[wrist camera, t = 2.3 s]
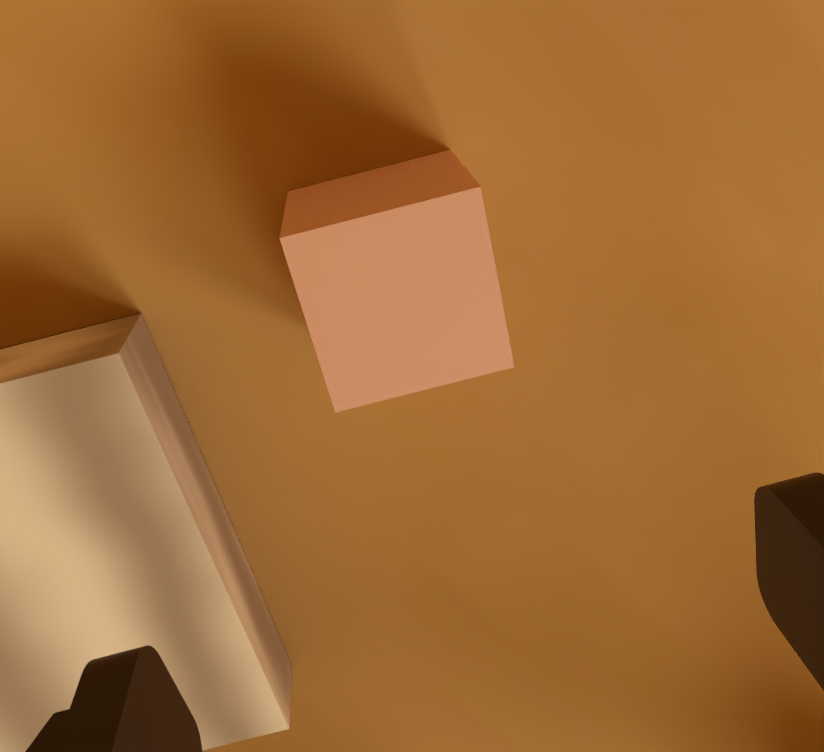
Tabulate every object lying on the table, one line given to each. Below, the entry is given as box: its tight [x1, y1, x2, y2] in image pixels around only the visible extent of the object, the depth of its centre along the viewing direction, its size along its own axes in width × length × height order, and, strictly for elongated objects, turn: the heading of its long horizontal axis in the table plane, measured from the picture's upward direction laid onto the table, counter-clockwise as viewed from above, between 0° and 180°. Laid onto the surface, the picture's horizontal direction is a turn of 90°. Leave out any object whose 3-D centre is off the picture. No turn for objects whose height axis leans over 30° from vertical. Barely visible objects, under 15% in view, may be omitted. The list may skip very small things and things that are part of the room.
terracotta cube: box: [279, 150, 514, 413], centre depth 22 cm, size 5×5×5 cm
